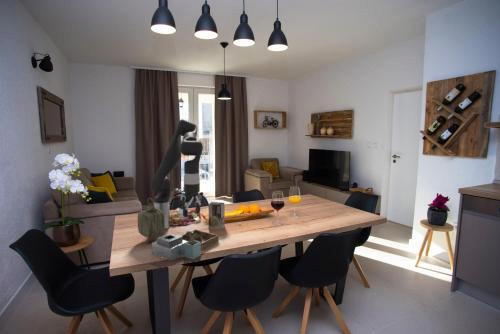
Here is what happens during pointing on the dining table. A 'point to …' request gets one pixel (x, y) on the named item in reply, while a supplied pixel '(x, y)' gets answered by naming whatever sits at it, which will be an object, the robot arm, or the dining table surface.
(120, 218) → the dining table surface
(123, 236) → the dining table surface
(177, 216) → the food tray
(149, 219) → the green backpack
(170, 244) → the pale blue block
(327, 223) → the dining table surface
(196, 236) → the seashell
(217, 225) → the coffee box
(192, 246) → the pen cup
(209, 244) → the frame
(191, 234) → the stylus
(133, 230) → the dining table surface
